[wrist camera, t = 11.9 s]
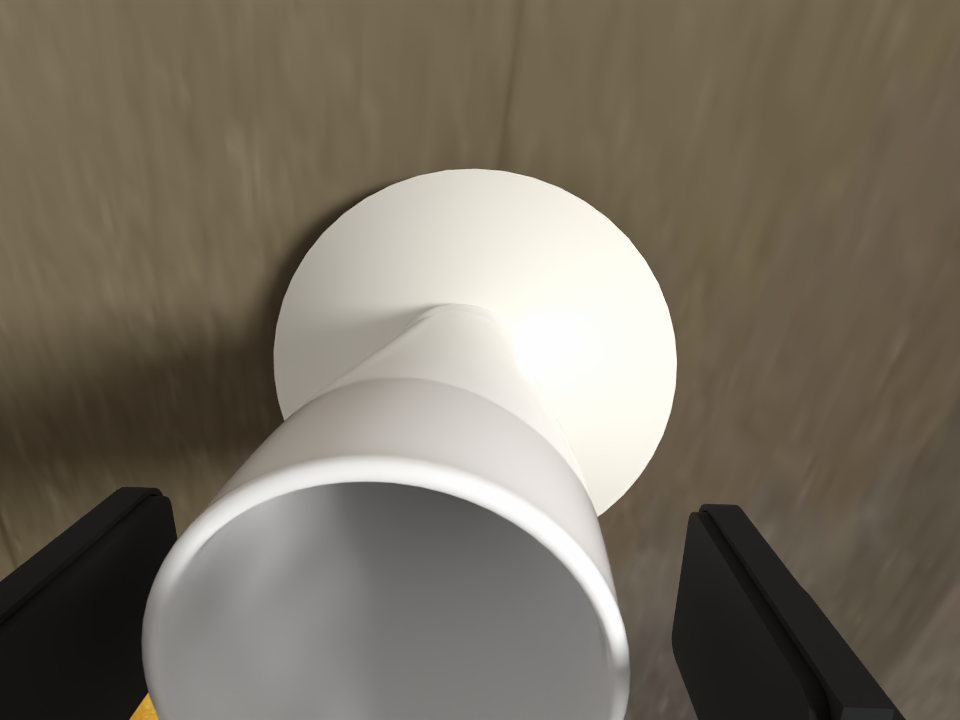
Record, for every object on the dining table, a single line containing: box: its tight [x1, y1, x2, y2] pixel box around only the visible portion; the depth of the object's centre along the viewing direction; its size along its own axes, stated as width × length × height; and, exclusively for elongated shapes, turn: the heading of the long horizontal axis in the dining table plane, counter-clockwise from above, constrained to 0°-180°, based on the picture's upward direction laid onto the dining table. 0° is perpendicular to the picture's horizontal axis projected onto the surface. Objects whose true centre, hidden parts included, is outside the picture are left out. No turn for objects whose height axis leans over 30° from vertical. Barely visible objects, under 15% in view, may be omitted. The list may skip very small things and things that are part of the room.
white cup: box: [141, 304, 630, 720], centre depth 14 cm, size 7×7×15 cm
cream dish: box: [274, 169, 677, 517], centre depth 23 cm, size 16×16×2 cm
